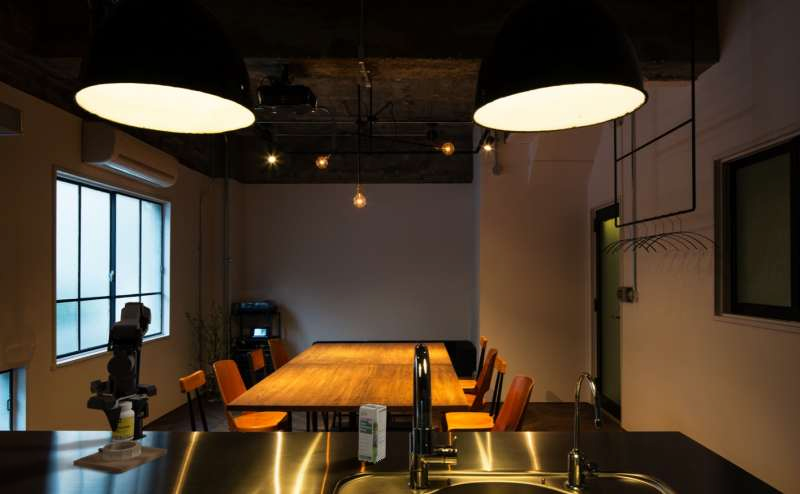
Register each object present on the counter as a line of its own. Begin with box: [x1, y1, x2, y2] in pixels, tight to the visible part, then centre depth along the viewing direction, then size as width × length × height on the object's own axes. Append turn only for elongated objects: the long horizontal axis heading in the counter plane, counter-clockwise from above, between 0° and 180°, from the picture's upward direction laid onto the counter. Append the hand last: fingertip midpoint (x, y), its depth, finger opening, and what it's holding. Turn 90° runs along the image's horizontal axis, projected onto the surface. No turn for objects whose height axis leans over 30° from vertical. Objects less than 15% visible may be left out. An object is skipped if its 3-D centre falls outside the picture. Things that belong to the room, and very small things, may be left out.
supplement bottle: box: [111, 402, 134, 442], centre depth 149 cm, size 5×5×10 cm
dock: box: [72, 440, 168, 475], centre depth 149 cm, size 16×16×4 cm
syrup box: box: [357, 403, 387, 464], centre depth 152 cm, size 6×6×14 cm
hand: (122, 428), depth 149 cm, fingers closed on supplement bottle, 5 cm apart
